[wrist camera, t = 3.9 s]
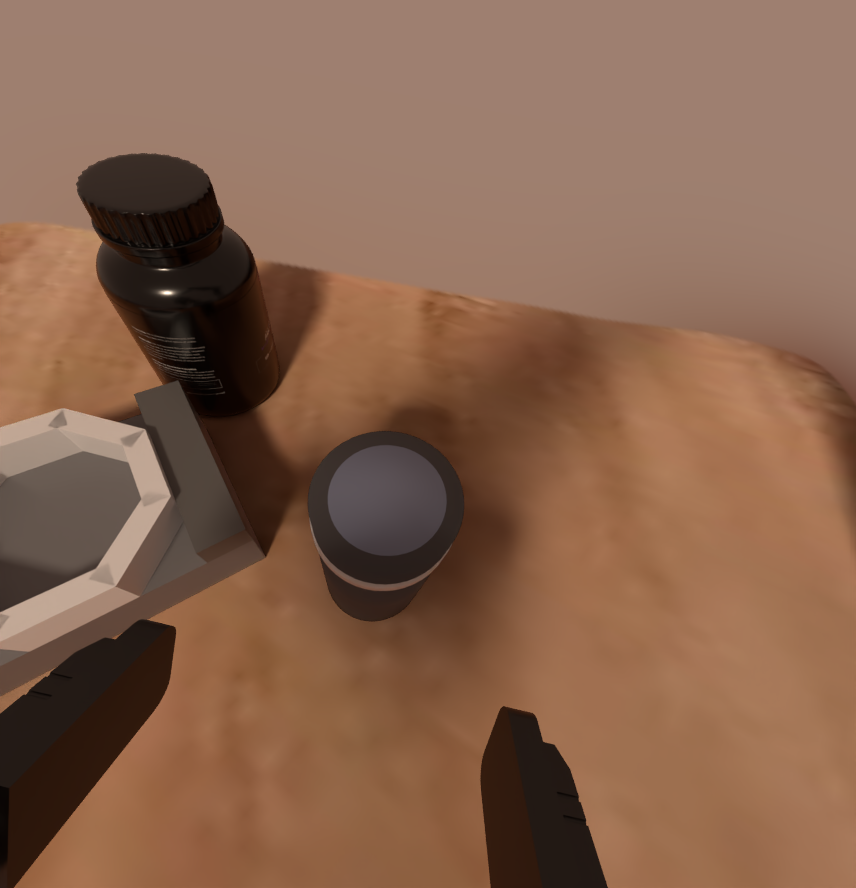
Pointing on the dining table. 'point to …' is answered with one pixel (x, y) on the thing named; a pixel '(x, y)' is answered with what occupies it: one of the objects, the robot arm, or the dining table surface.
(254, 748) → the dining table surface
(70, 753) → the robot arm
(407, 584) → the lens
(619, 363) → the dining table surface
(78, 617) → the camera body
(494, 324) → the dining table surface
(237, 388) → the supplement bottle
